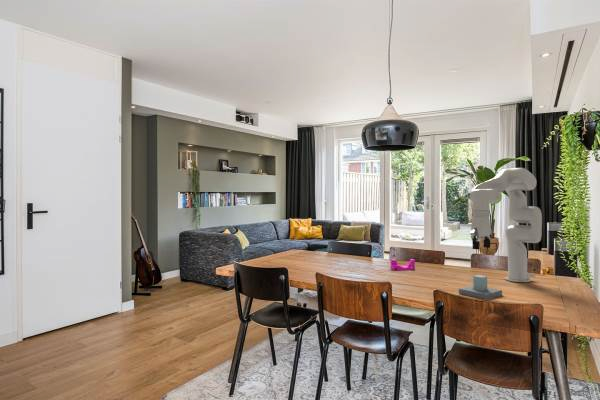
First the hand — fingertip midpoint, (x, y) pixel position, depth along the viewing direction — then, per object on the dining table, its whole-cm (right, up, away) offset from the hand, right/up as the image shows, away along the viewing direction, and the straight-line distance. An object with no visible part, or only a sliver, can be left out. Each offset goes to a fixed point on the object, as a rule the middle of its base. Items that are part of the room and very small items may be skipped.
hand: (481, 248), depth 185 cm
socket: (-2, -22, -2) cm, 23 cm away
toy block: (-22, -23, +62) cm, 69 cm away
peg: (-2, -23, -2) cm, 23 cm away
